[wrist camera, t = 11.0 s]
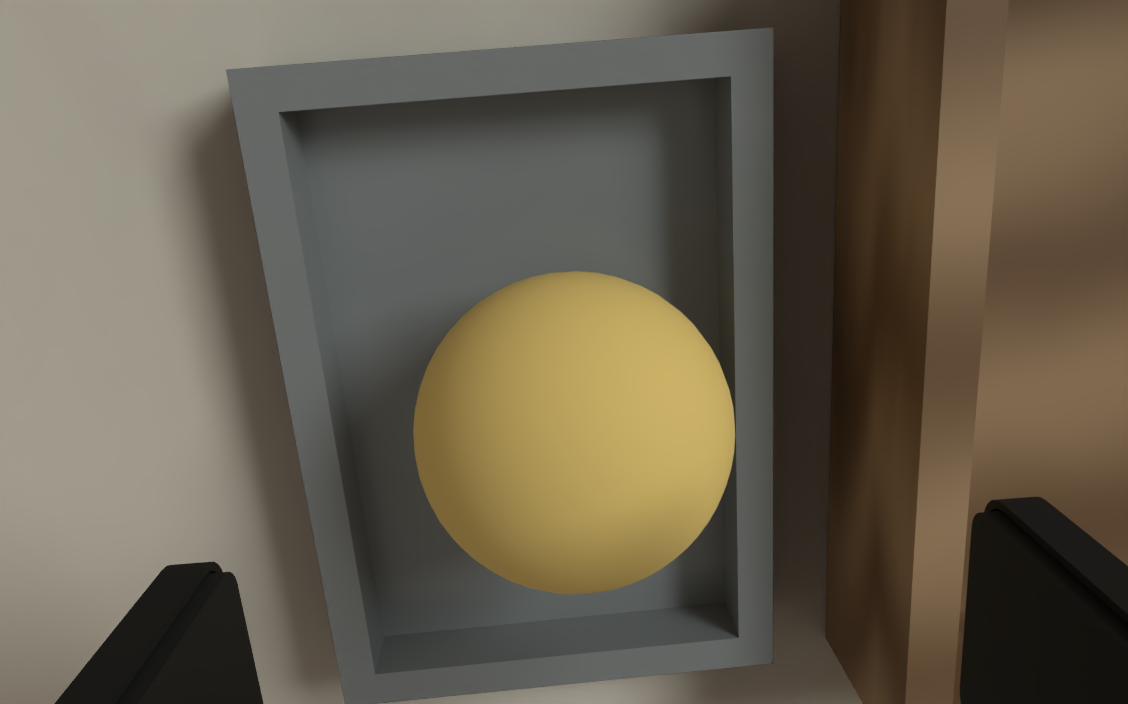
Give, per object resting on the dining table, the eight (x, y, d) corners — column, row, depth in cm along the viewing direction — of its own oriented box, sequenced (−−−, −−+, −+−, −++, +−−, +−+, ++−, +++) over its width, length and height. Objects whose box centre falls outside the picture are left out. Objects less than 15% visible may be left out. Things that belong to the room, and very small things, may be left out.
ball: (665, 478, 20) (798, 617, 15) (417, 529, 19) (461, 704, 13) (654, 232, 19) (801, 284, 13) (379, 267, 17) (412, 343, 12)
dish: (749, 612, 22) (773, 663, 20) (360, 651, 21) (345, 706, 19) (744, 33, 17) (773, 27, 15) (258, 71, 17) (225, 69, 15)
